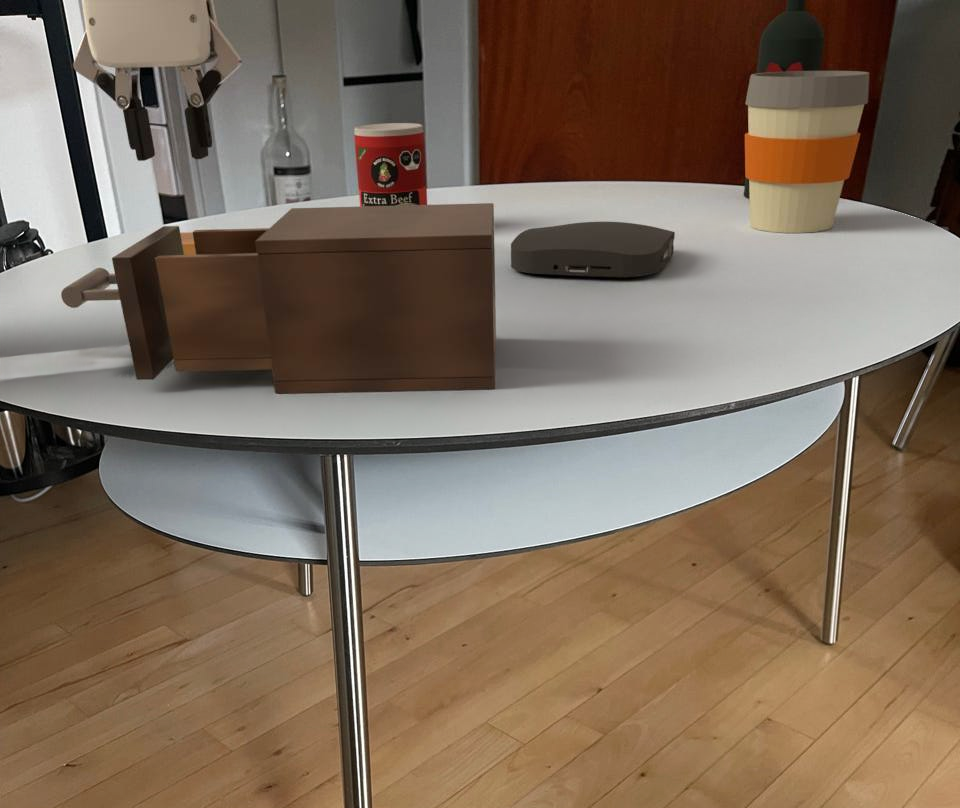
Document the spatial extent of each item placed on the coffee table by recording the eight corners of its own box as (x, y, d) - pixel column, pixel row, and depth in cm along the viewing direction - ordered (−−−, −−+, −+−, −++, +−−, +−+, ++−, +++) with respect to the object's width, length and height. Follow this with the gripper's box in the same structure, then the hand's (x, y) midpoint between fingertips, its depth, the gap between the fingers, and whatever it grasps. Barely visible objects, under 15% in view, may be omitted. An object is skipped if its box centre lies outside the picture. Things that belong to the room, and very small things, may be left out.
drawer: (63, 381, 68) (34, 259, 64) (118, 336, 78) (95, 227, 74) (337, 376, 68) (325, 252, 64) (358, 331, 78) (348, 221, 73)
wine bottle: (736, 202, 130) (763, -86, 115) (748, 190, 138) (775, -80, 123) (799, 204, 128) (837, -90, 112) (808, 192, 136) (844, -84, 120)
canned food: (355, 238, 116) (345, 130, 110) (371, 226, 122) (363, 123, 117) (421, 238, 115) (415, 129, 109) (434, 225, 121) (429, 122, 116)
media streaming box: (540, 246, 108) (540, 216, 107) (679, 251, 104) (681, 220, 103) (500, 276, 97) (500, 243, 95) (655, 283, 93) (657, 248, 91)
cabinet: (275, 393, 68) (254, 240, 63) (306, 342, 79) (290, 208, 74) (494, 389, 67) (491, 234, 62) (496, 337, 78) (493, 202, 73)
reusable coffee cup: (735, 235, 111) (750, 78, 103) (731, 216, 122) (745, 72, 114) (856, 236, 109) (880, 75, 101) (841, 216, 119) (863, 69, 112)
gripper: (247, -97, 83) (276, 151, 93) (44, -90, 84) (93, 156, 93) (225, -106, 77) (259, 160, 86) (6, -99, 77) (63, 166, 87)
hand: (173, 155), depth 90 cm, fingers open, 4 cm apart
